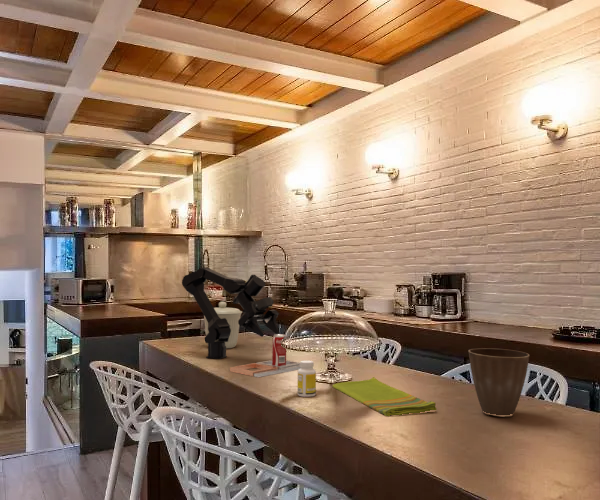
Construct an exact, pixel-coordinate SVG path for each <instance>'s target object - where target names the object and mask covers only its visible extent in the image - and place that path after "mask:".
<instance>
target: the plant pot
mask: <svg viewBox="0 0 600 500" xmlns="http://www.w3.org/2000/svg"><path fill="white" fill-rule="evenodd" d="M468 357H469V366H470V371H471V375H472V381H473V384H474V385H473V386H474V389H475V393H476V396H477V398H478V399H477V400H478V402H479V406H480V408H481V411H482V412H483V411H484V412H486V413H490V414H496V415H510V414H513V413H514V414H515V412H516V410H517V409H516V408H517V407H518V405H519V404H518V403H519V401H520V398H521V396H522V393H523V392H522V391H523V388H524V384H525V382H526V381H525V380H526V376H527V372H528V366H529V361H530V354H529V353H527V352H524V351H519V350H513V349H504V348H492V347H491V348H490V347H489V348H488V347H487V348H485V347H484V348H483V347H481V348H471V349H468ZM514 414H513V415H514Z"/></svg>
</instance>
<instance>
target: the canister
mask: <svg viewBox="0 0 600 500" xmlns="http://www.w3.org/2000/svg"><path fill="white" fill-rule="evenodd" d="M214 309H215V311H216V313H217V314H218V316H219V317H220V318H221V319H222V318H226V320H227V322H228V324H229V325H230V326H229V327H230V329H231V333H230V336H229V340H228V342H225V346H226V350H227V349H233V348H234V347H236V345H237V343H238V340H239V339H238V338H239V332H240V326H239V324H238V320H239V319H240V318H241V316H242V313H243V312H242V311H243V310H240V309H239V308H235V307H227V302H226V301H220V302H218V307H214ZM203 317H204V329H205V330H204V331H205V336H206V335H207V334H208V333H209V331H208V321H207V320H206V318H205V316H204V315H203ZM206 344H207V345H208V343H206Z"/></svg>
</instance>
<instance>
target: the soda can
mask: <svg viewBox="0 0 600 500" xmlns="http://www.w3.org/2000/svg"><path fill="white" fill-rule="evenodd" d="M284 336H286V334H284V333H283V334H281V333H279V334H275V333H274V334H273V336H272V343H271V344H272V346H271V347H272V349H271V350H272V351H271V353H272V355H271V358H272V359H271V360H272V365H275V366H284V365H286V360H287V348H286V349H285V348H283V347H282V346H281V341H282V339H283V338H284Z"/></svg>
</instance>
